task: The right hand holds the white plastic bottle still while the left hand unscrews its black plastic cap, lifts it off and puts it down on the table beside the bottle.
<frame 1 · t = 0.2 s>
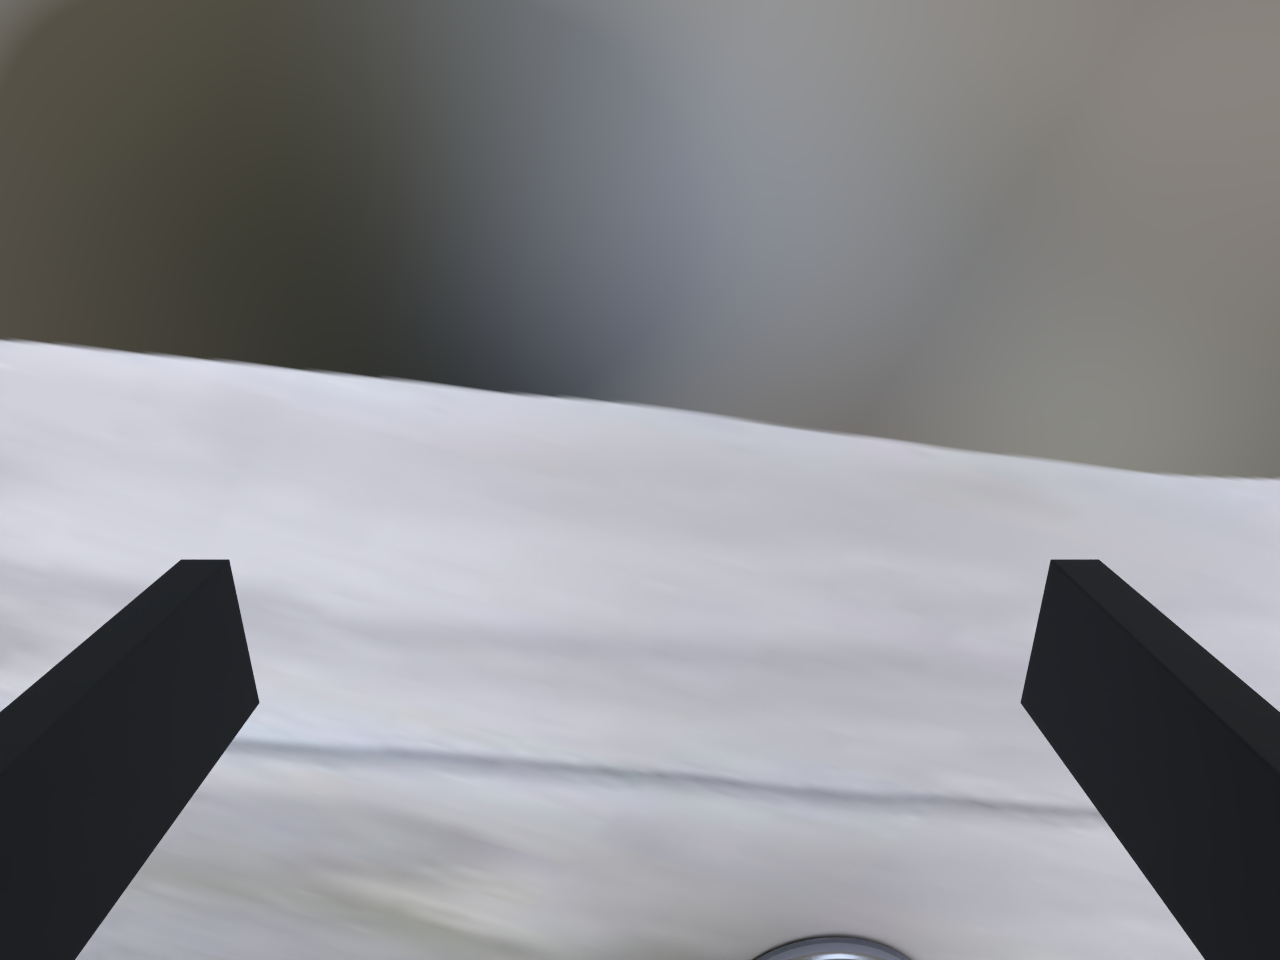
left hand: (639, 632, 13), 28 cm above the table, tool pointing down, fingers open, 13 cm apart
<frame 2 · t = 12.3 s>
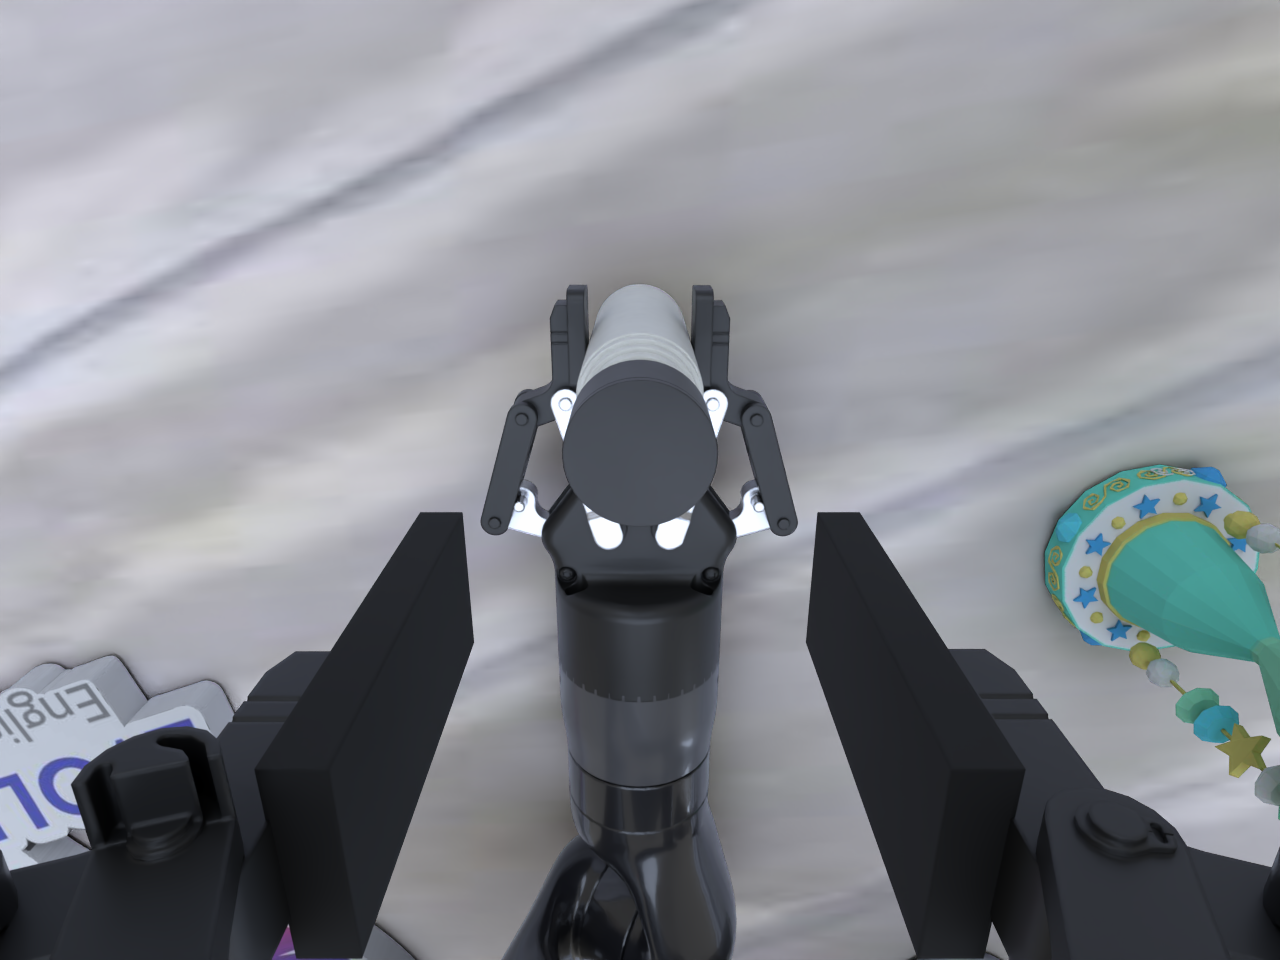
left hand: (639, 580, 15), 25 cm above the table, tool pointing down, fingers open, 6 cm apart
right hand: (639, 289, 31), fingers closed on bottle, 4 cm apart
cap: (640, 452, 21), point 18 cm above the table, screwed on, not yet turned
decorative sign: (89, 881, 51), on the table
bottle: (639, 329, 38), on the table, touching right hand
decorative hourglass: (1136, 549, 42), on the table
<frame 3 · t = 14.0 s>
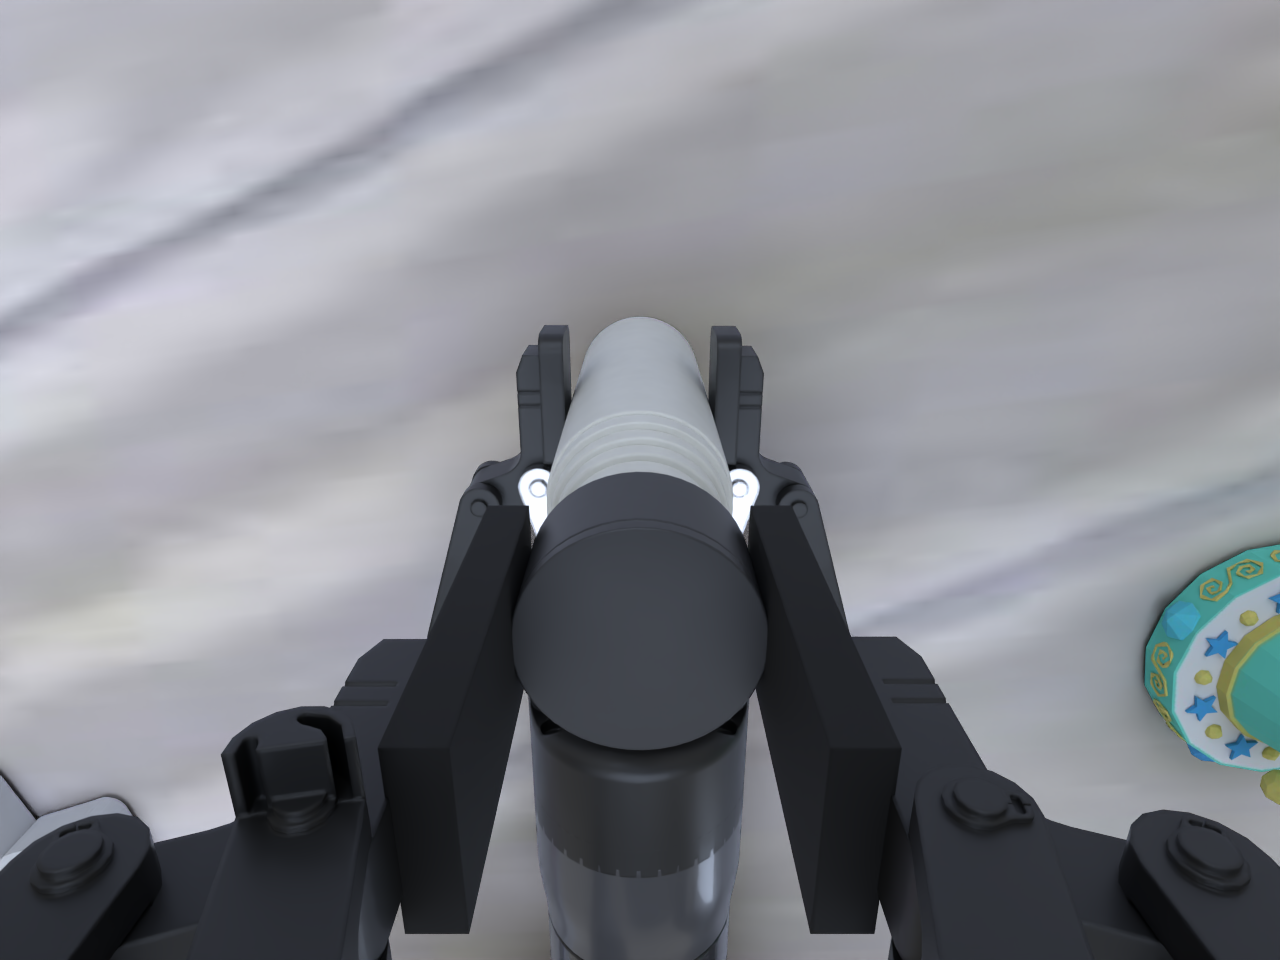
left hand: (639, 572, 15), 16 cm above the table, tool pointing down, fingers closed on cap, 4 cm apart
right hand: (639, 332, 23), fingers closed on bottle, 4 cm apart
cap: (639, 635, 13), point 18 cm above the table, screwed on, not yet turned, touching left hand
bottle: (639, 374, 29), on the table, touching right hand
decorative hourglass: (1259, 643, 34), on the table
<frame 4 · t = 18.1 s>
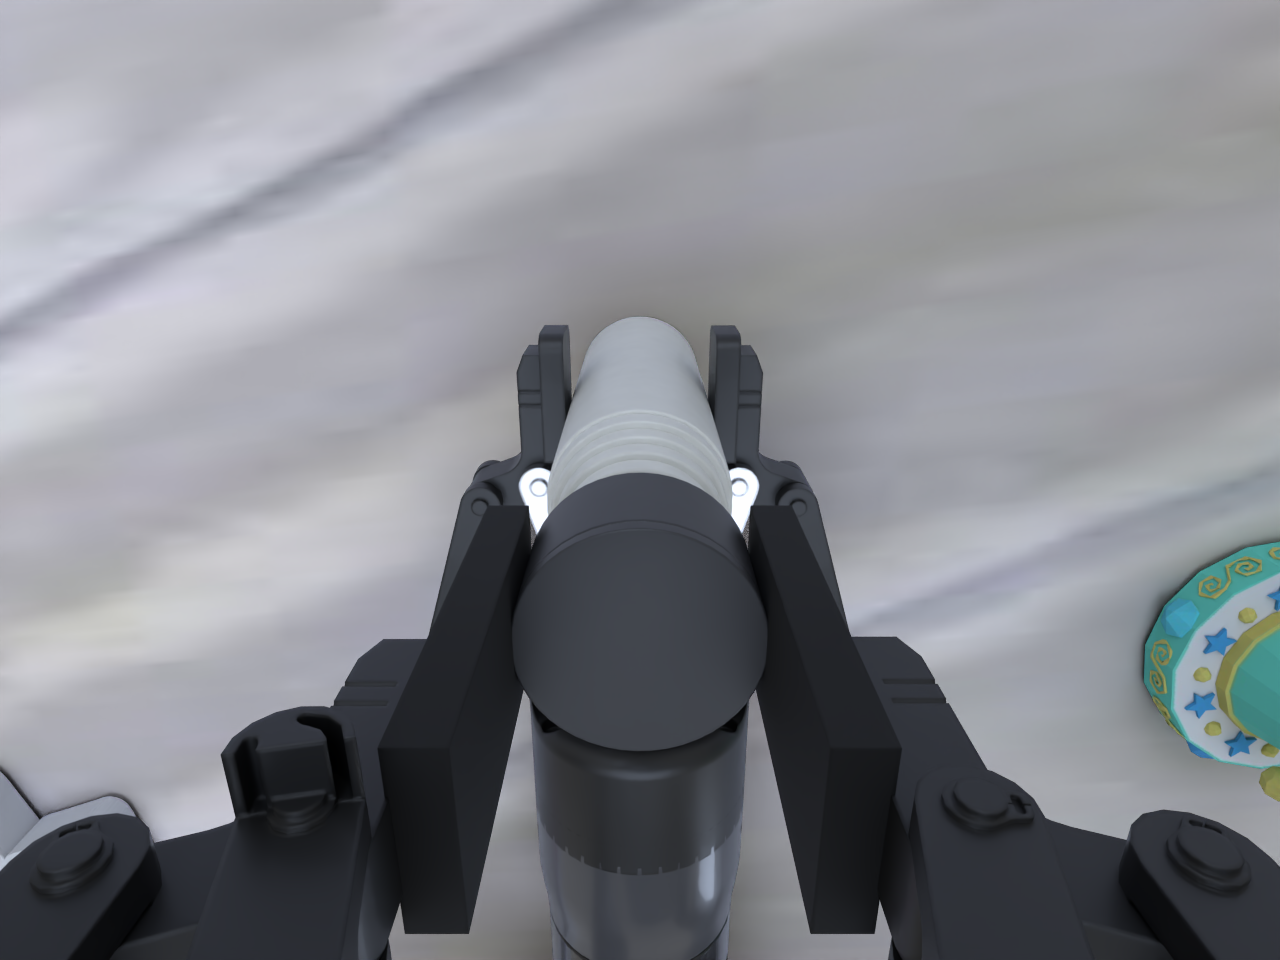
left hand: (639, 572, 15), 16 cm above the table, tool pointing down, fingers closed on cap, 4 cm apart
right hand: (638, 332, 23), fingers closed on bottle, 4 cm apart
cap: (639, 636, 13), point 18 cm above the table, turned 132° so far, risen 0.1 cm, still on its thread, touching left hand
bottle: (639, 373, 30), on the table, touching right hand
decorative hourglass: (1258, 640, 34), on the table
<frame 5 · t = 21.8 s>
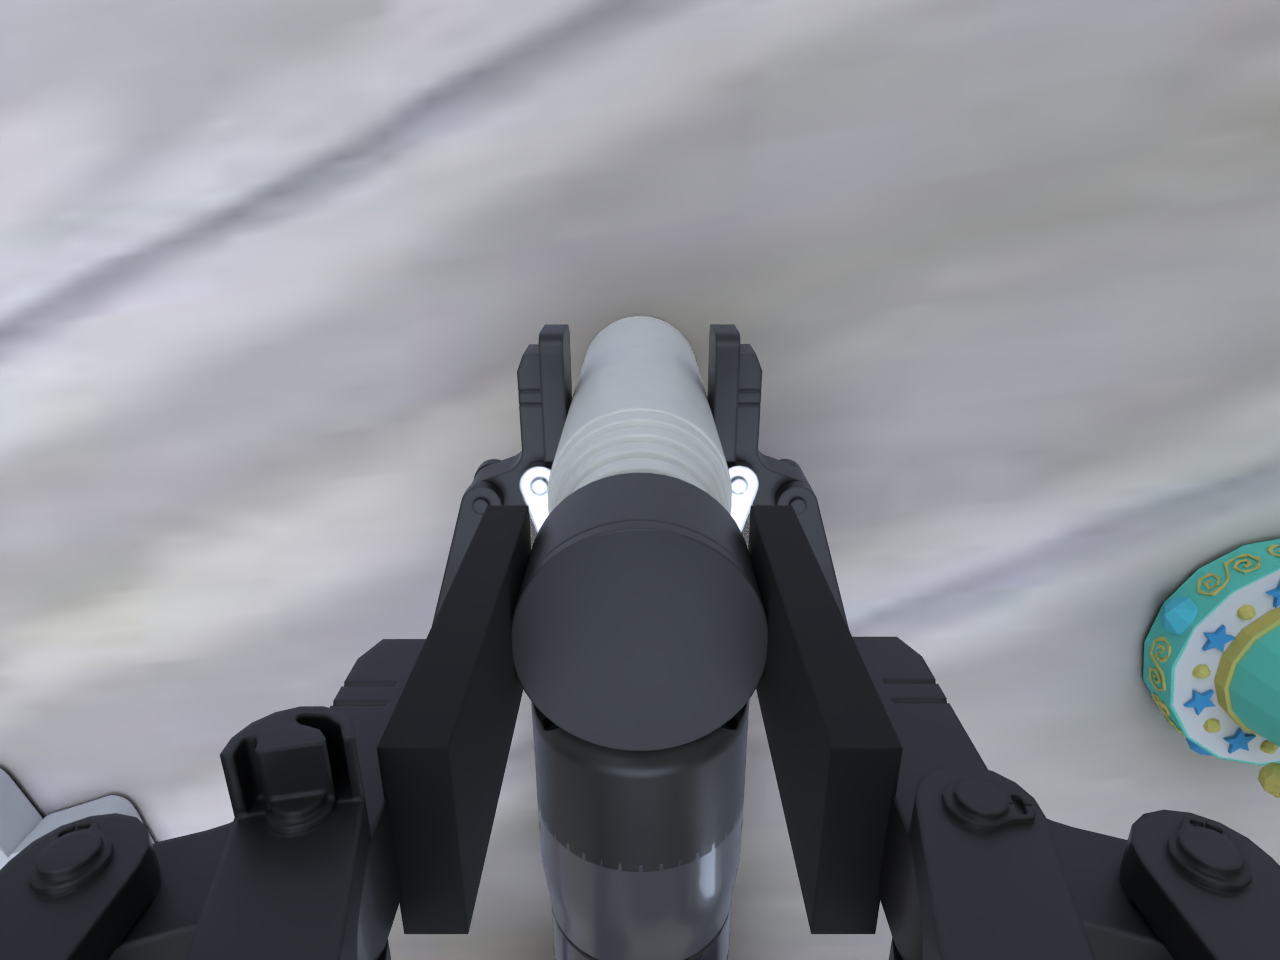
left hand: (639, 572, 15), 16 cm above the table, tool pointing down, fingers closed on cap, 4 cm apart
right hand: (638, 331, 23), fingers closed on bottle, 4 cm apart
cap: (639, 636, 13), point 18 cm above the table, turned 263° so far, risen 0.2 cm, still on its thread, touching left hand
bottle: (639, 372, 30), on the table, touching right hand
decorative hourglass: (1257, 637, 34), on the table
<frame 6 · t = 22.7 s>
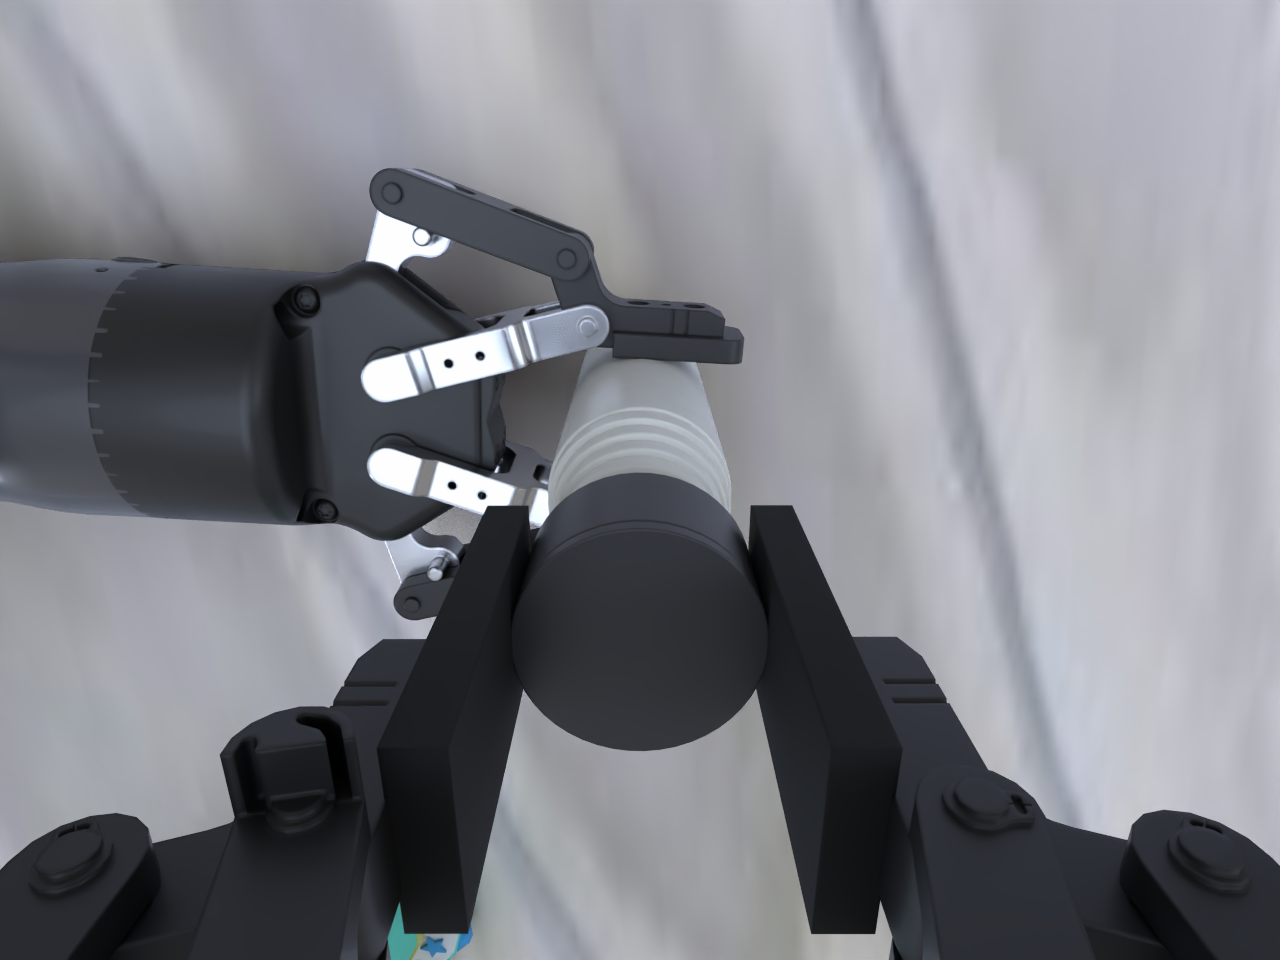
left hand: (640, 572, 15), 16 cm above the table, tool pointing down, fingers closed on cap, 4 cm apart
right hand: (728, 424, 24), fingers closed on bottle, 4 cm apart
cap: (639, 636, 13), point 18 cm above the table, turned 357° so far, risen 0.3 cm, still on its thread, touching left hand
bottle: (639, 372, 30), on the table, touching right hand
decorative hourglass: (372, 882, 39), on the table
when the left hand's fingers open (1 cm above the table, at t = 28.3 s): cap drops 1 cm, point 2 cm above the table.
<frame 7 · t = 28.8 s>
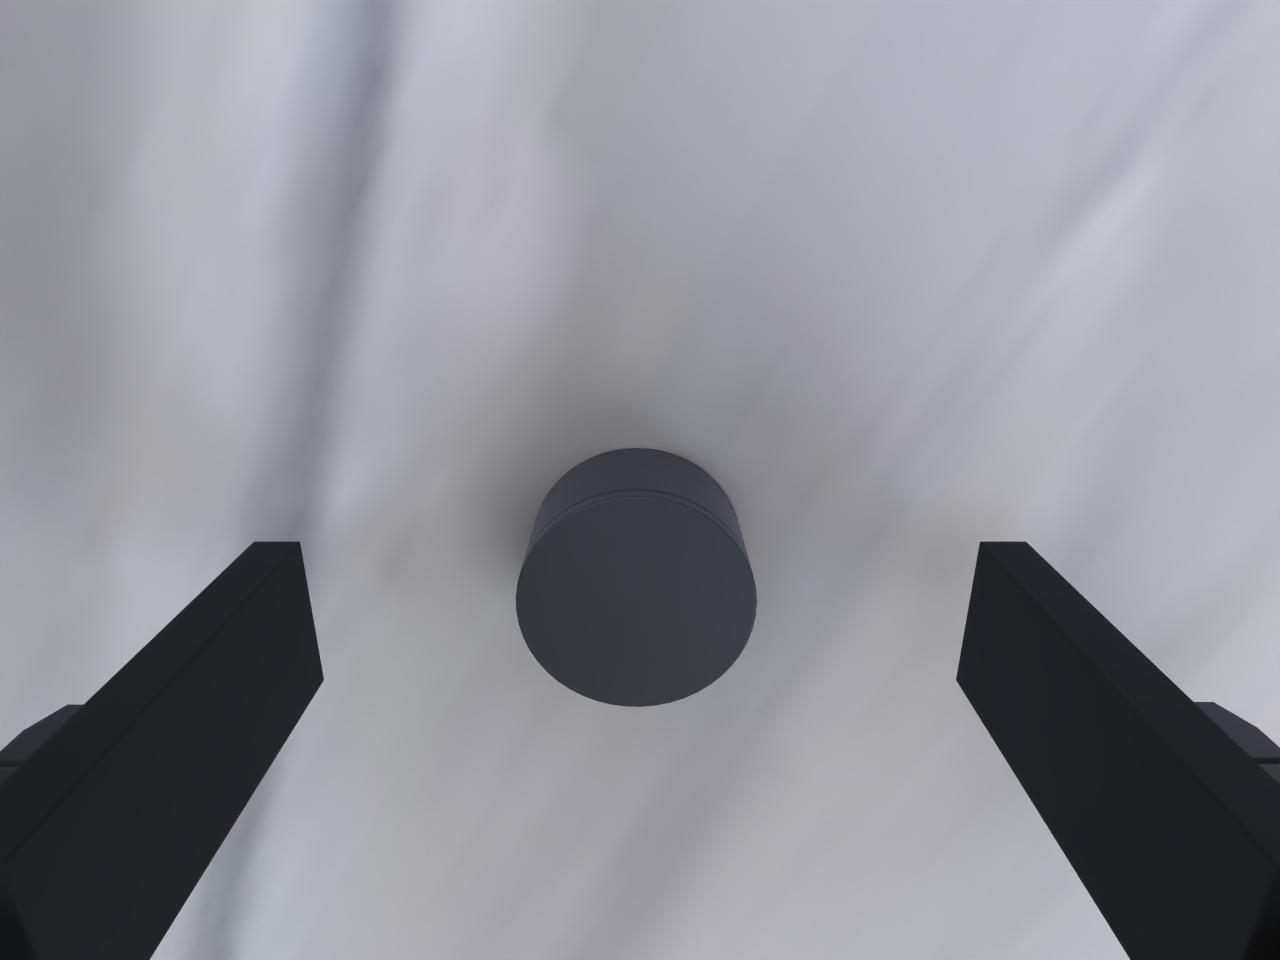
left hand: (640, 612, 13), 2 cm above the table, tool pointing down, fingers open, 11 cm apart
cap: (636, 599, 14), point 2 cm above the table, off its thread
when the right hand's fingers open (6 cm above the table, at t = 29.6 s): bottle stays where it is, on the table.
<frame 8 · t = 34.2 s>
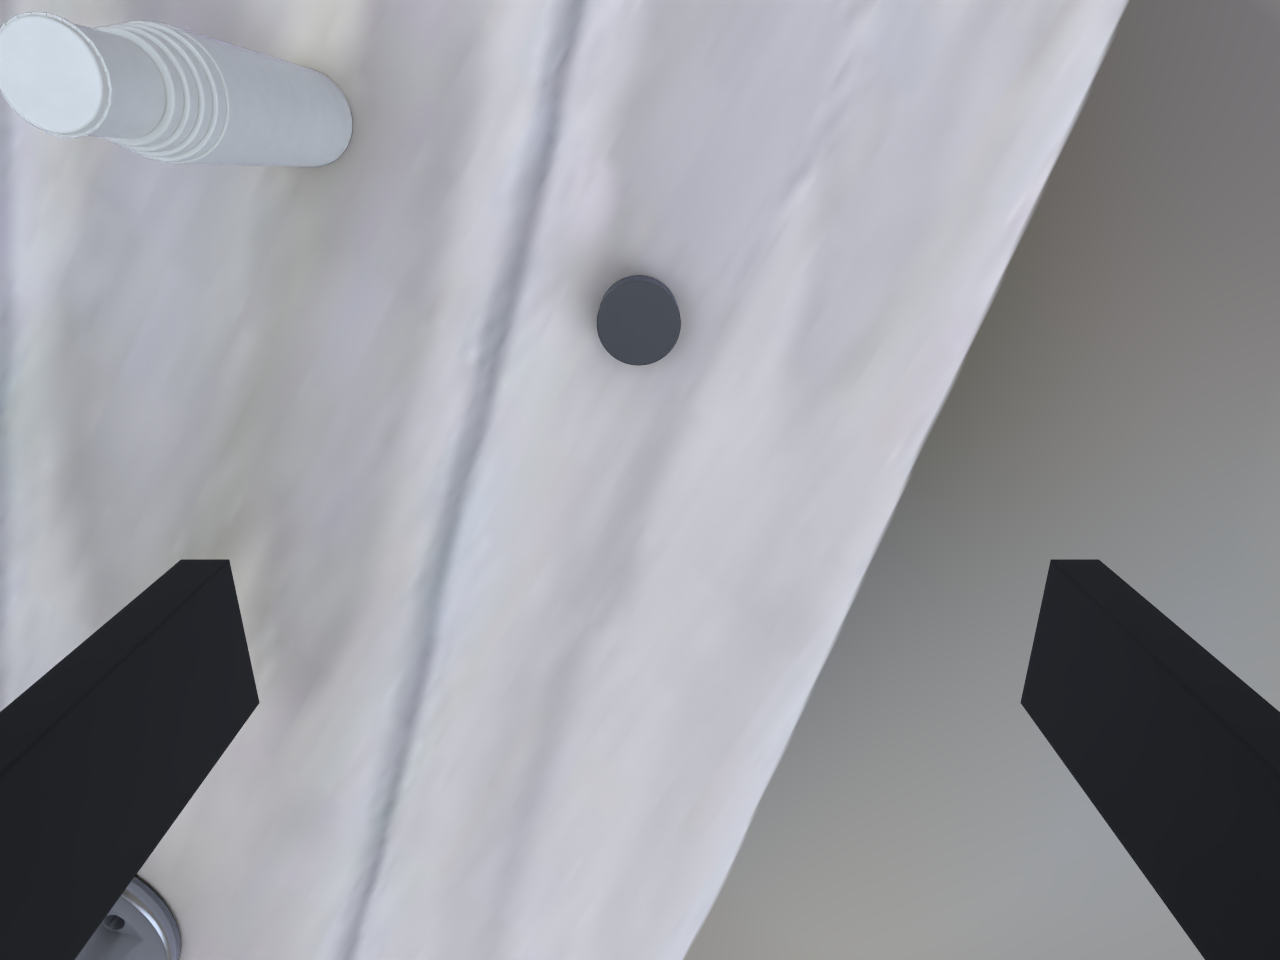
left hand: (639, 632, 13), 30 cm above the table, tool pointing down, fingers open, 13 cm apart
cap: (638, 323, 39), point 2 cm above the table, off its thread
bottle: (307, 118, 38), on the table
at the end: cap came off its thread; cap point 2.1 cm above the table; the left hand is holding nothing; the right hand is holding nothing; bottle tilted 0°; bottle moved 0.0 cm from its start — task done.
